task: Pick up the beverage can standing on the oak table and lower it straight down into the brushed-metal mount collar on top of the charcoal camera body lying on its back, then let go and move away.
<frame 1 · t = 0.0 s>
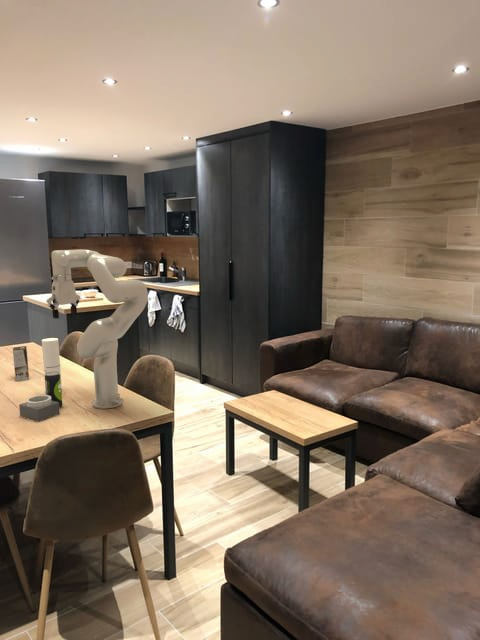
hand: (65, 316, 223), 37 cm above the table, tool pointing down, fingers open, 9 cm apart
cylindrical container: (54, 391, 236), on the table
coffee box: (22, 378, 258), on the table
beverage can: (55, 407, 214), on the table
camera body: (40, 415, 205), on the table
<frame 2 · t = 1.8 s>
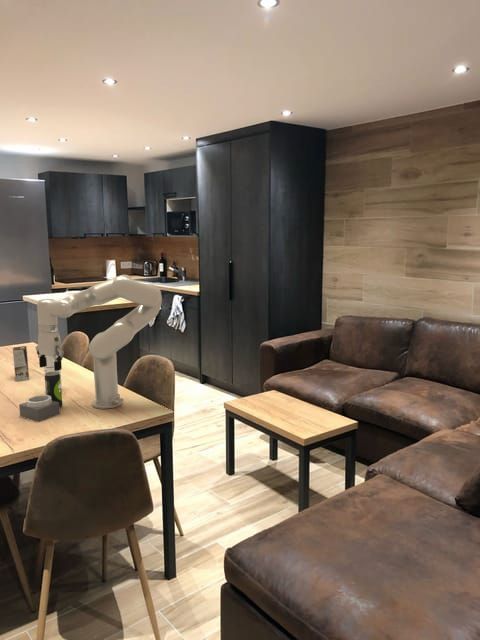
hand: (50, 368, 211), 17 cm above the table, tool pointing down, fingers open, 9 cm apart
nothing on the table moved.
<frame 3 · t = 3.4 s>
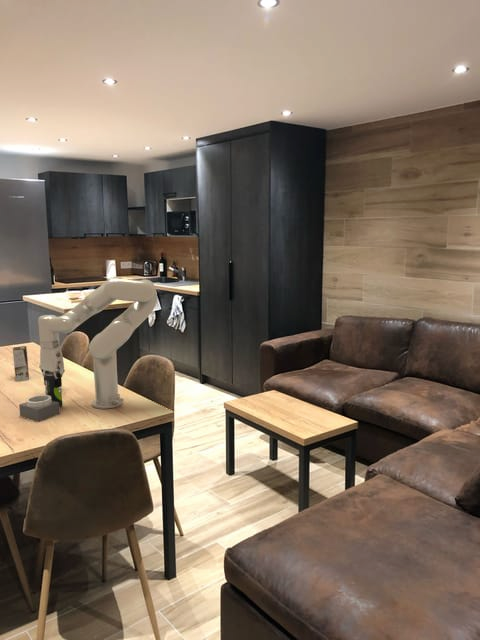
hand: (53, 385, 212), 10 cm above the table, tool pointing down, fingers closed on beverage can, 6 cm apart
beverage can: (55, 407, 214), on the table, touching gripper
everything else where it was.
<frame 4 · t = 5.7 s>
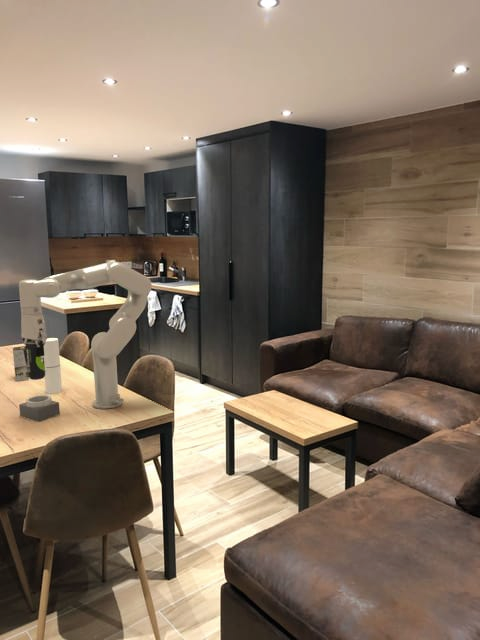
hand: (35, 354, 200), 25 cm above the table, tool pointing down, fingers closed on beverage can, 6 cm apart
beverage can: (37, 378, 202), point 16 cm above the table, touching gripper
everything else where it was.
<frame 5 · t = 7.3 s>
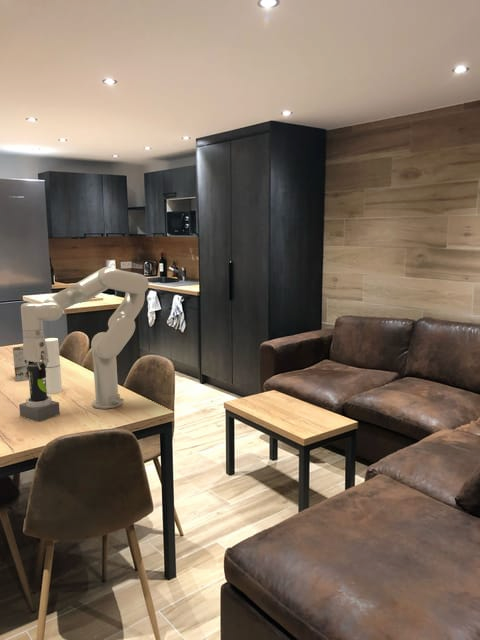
hand: (36, 376, 202), 16 cm above the table, tool pointing down, fingers closed on beverage can, 6 cm apart
beverage can: (39, 400, 203), point 6 cm above the table, touching gripper
everything else where it was.
when the fingers open (16 cm above the table, at t = 8.2 s): beverage can drops 1 cm, resting on camera body.
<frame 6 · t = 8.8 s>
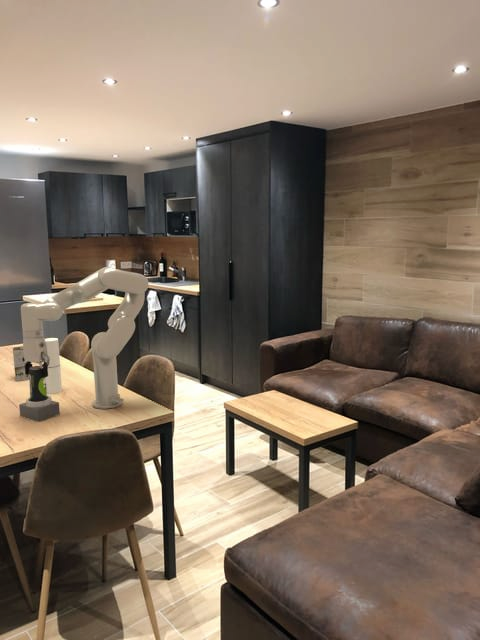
hand: (36, 375, 202), 17 cm above the table, tool pointing down, fingers open, 9 cm apart
beverage can: (38, 403, 204), point 5 cm above the table, touching camera body
everything else where it was.
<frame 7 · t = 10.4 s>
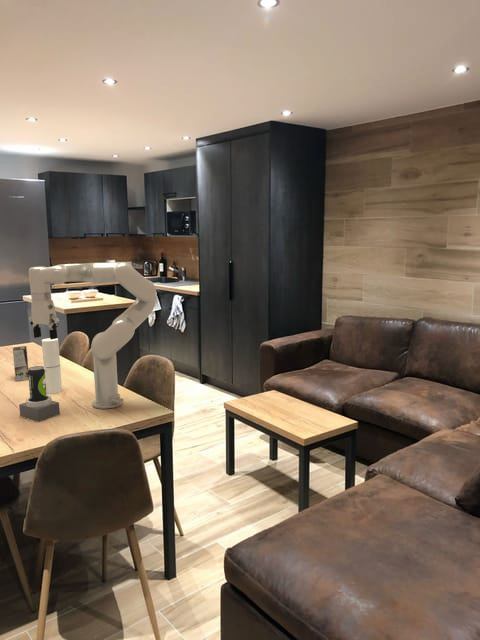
hand: (45, 338, 206), 31 cm above the table, tool pointing down, fingers open, 9 cm apart
nothing on the table moved.
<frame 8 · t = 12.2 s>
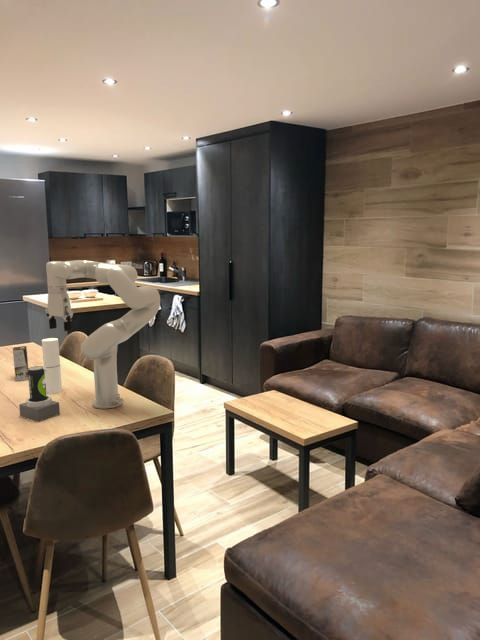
hand: (60, 329, 217), 32 cm above the table, tool pointing down, fingers open, 9 cm apart
nothing on the table moved.
at the end: beverage can 0.1 cm off-centre in the camera body, point 4.8 cm above the camera body's base; beverage can tilted 0°; the gripper is holding nothing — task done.
